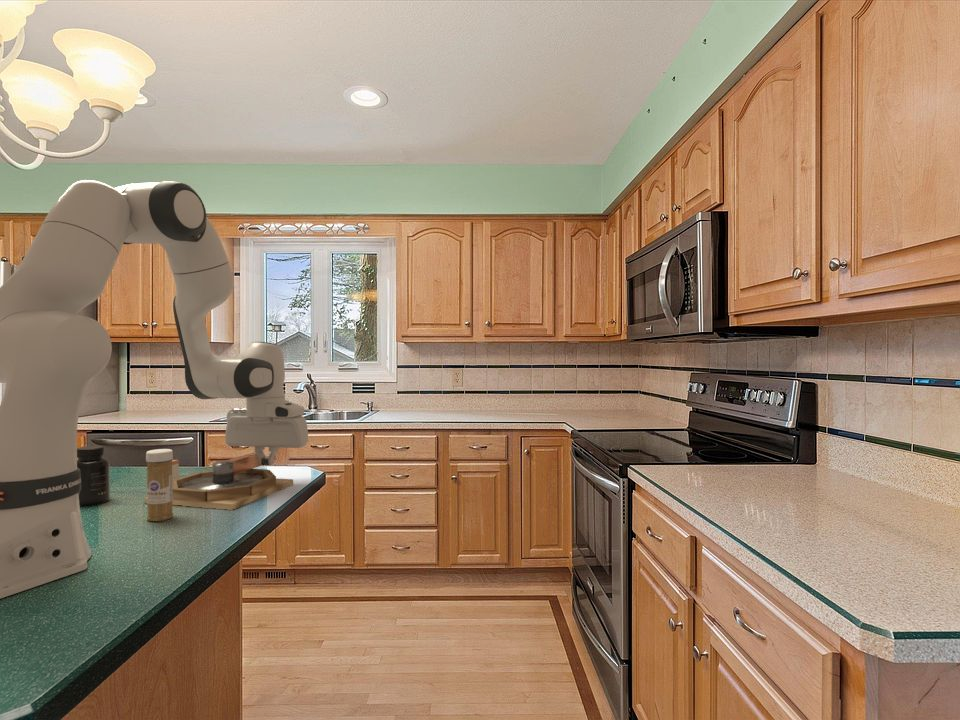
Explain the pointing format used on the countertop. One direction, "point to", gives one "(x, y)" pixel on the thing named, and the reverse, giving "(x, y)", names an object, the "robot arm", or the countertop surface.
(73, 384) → the robot arm
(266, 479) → the dial housing
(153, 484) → the sprinkles bottle
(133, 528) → the countertop surface
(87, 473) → the supplement bottle
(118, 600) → the countertop surface
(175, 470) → the post
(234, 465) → the dial
